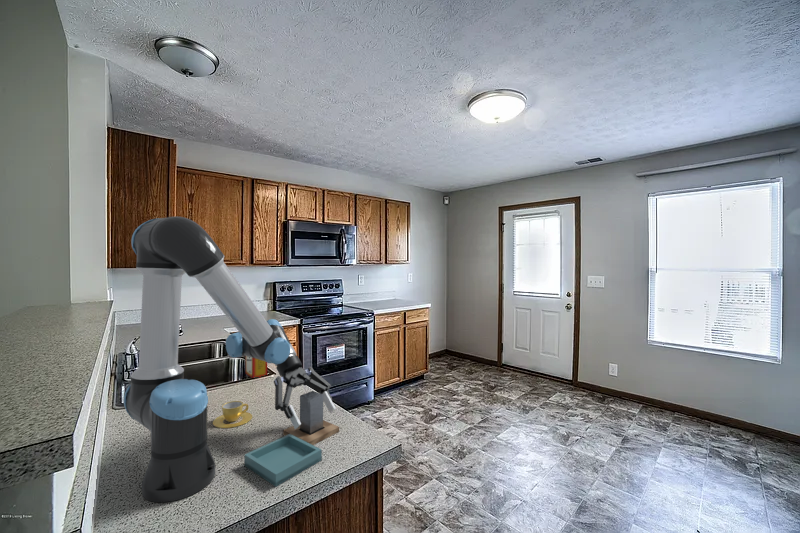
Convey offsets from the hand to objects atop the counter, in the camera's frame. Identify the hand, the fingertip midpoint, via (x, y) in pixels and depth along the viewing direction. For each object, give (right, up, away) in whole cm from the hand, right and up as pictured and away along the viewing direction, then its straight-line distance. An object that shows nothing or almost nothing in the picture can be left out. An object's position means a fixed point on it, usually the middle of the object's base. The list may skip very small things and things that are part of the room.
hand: (316, 418), depth 110 cm
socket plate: (-2, -5, +1) cm, 6 cm away
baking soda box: (-41, -4, +56) cm, 69 cm away
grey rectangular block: (-2, -5, +1) cm, 6 cm away
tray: (-5, -6, -15) cm, 17 cm away
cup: (-30, -5, +10) cm, 32 cm away
